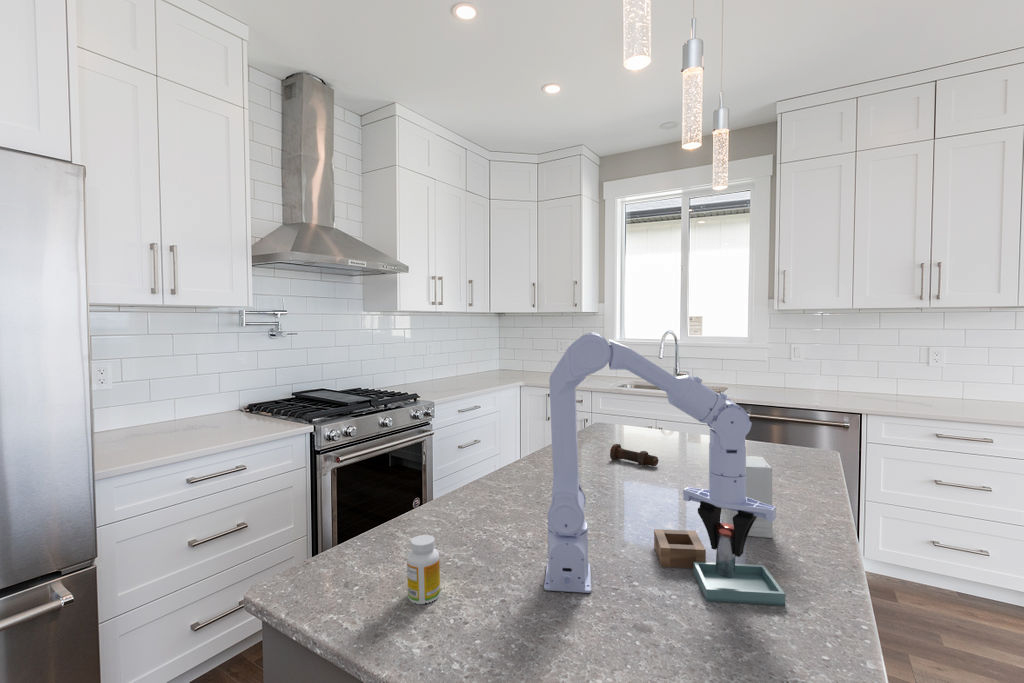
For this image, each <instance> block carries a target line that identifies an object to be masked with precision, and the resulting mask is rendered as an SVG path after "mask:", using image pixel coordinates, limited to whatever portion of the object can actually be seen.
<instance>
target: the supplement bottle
mask: <svg viewBox="0 0 1024 683" xmlns="http://www.w3.org/2000/svg"><path fill="white" fill-rule="evenodd" d="M435 541H436V539H435V537H434V536H432V535H430V534H420V535H417V536H414V537H412V538H411V540H410V550H411V551H409V552H408V554H407V557H406V570H407V571H406V572H407V573H406V574H407V576H406V577H407V597H408V600H409V601H410V602H411V603H413V604H415V603H416V604H415V605H426V604H425V603H427V604H430V603H432V601H433V602H435V601H436V600H437V599H439V597H440V594H441V571H440V569H441V568H440V553H439V551H438V550H437V549H436V542H435ZM434 600H435V601H434ZM429 602H430V603H429Z"/></svg>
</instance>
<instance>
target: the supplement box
mask: <svg viewBox="0 0 1024 683" xmlns="http://www.w3.org/2000/svg"><path fill="white" fill-rule="evenodd" d="M746 497H748V498H751V499H753V500H756V501H759V502H762V503H765V504H768V505H771V506H773V468H772V466H771V465H769V463H768V462H767V461H766V459H765V458H764V457H763V456H755V455H754V456H751V455H750V456H748V455H746ZM736 514H738V512H736V511H732V510H728V509H724V508H722V509H721V518H720V520H721V521H722V522H721V523H728V524H732V525H734V524H733V517H734V516H735V515H736ZM773 522H774V521H773ZM773 522H771V521H767V520H766V519H765V518H761V517H757V518H756V519H755V521H754V523H753V525H752V527H751V529H750V531H749V533H748V536H747V537H756V538H767V539H773V538H774V533H773V531H774V530H773V529H774V528H773V527H774V526H773V524H774V523H773Z"/></svg>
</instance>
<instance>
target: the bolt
mask: <svg viewBox="0 0 1024 683" xmlns="http://www.w3.org/2000/svg"><path fill="white" fill-rule="evenodd" d="M609 456H610V457H609V458H610V460H612V461H613V460H617V459H619V460H625V461H629V462H634V463H637V464H638V466H639V465H642V466H641V467H646V466H651V467H656V466H657V465H658V464H659V458H658V456H656V455H652V454H649V453H648V451H646V450H641V451H634V450H630V449H626V448H625V449H624V448H622V446H621V443H615V444H612V446H611V448H610V451H609ZM617 461H618V460H617ZM645 465H646V466H645Z"/></svg>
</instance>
